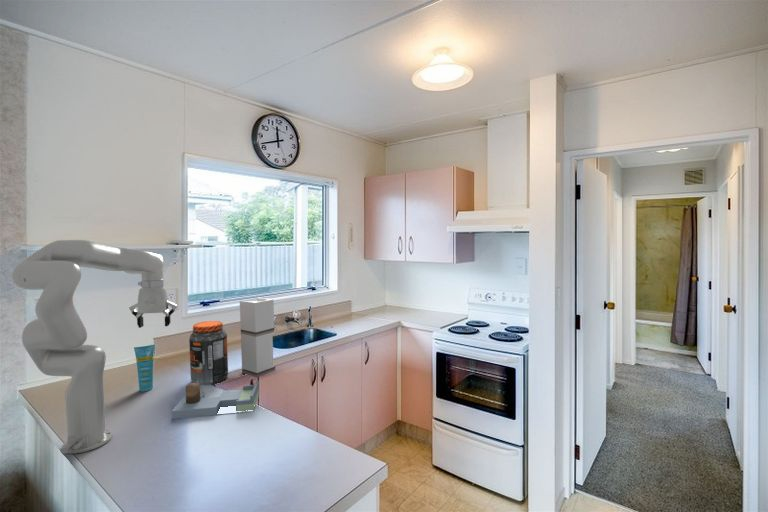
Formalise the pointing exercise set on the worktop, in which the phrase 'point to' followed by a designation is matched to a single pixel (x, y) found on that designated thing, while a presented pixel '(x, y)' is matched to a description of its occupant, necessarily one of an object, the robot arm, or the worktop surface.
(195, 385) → the brown wooden block
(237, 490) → the worktop surface
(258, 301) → the banded white pillar
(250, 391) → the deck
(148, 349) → the tube
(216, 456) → the worktop surface
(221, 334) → the supplement tub
